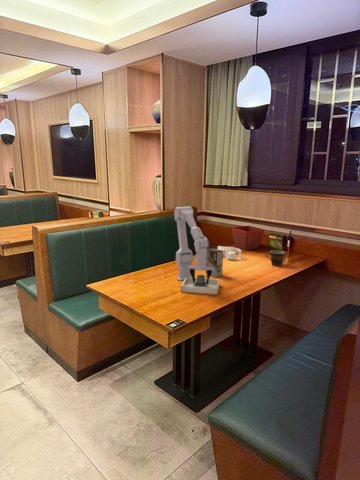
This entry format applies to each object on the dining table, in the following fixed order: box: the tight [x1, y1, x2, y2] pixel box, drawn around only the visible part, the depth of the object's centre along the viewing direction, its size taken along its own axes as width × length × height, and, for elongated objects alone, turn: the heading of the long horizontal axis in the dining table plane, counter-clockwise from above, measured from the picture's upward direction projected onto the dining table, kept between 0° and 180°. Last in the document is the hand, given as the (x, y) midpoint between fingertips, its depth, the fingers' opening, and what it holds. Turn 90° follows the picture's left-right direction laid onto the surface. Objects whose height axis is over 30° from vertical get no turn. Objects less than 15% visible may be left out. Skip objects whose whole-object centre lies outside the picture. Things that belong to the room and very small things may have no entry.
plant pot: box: [231, 225, 265, 251], centre depth 278 cm, size 19×19×17 cm
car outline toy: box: [217, 245, 243, 261], centre depth 251 cm, size 20×11×7 cm, turn 38°
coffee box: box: [205, 247, 224, 278], centre depth 214 cm, size 9×6×16 cm
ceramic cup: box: [265, 249, 286, 268], centre depth 233 cm, size 13×10×10 cm
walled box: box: [180, 277, 221, 296], centre depth 192 cm, size 15×20×4 cm
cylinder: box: [196, 274, 205, 286], centre depth 191 cm, size 4×4×7 cm
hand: (200, 282), depth 191 cm, fingers open, 7 cm apart
